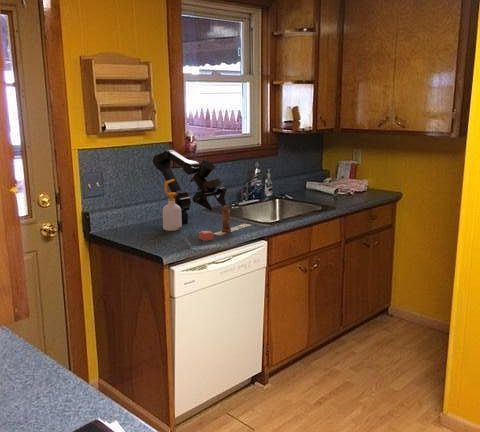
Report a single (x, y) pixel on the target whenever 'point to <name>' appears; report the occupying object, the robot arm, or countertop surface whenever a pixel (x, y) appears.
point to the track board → (232, 229)
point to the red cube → (206, 235)
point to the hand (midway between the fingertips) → (218, 208)
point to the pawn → (226, 219)
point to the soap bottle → (171, 212)
